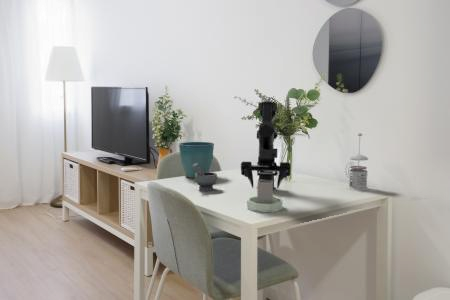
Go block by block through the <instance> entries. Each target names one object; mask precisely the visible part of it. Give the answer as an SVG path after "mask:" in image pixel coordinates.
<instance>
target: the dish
mask: <svg viewBox="0 0 450 300" xmlns="http://www.w3.org/2000/svg"><path fill="white" fill-rule="evenodd" d="M283 203H284V199H283V198H280V197H276V196H274V195H273V203H272V204H261V203H257V195H256V196H251V197H250V196H249V197H248V199H247V200H246V208H247V209H248V210H249V211H251V212H252V211H253V212H257V213H275V212H280V211H281V210H283V205H284V204H283Z"/></svg>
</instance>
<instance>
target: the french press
mask: <svg viewBox="0 0 450 300" xmlns="http://www.w3.org/2000/svg"><path fill="white" fill-rule="evenodd" d="M357 136H358V137H362V136H363V134H362V133H360V132H359V133H358V134H357ZM358 141H359V144H358V151H361V149H360V147H361V146H360V145H361V138H359V139H358ZM349 159H350V160H352V161H349V162H348V163H347V164H346V167H345V169H347V172H345V175H346V177H347V178H348V186H347V187H345V188H346V190H347V189H348V190H352V191H357V192H359V191H360V192H361V191H363V192H364V191H369V188H368V183H367V182H368V180H367V179H368V170H367V168H368V167H366V166H362V165H360V161H368V160H369V158H368V157H367V156H365V155H363V154H360V153H358V154H354V155H352V156H349ZM353 161H358V164H357V165H354V162H353ZM348 165H349V166H348ZM347 167H348V168H347Z"/></svg>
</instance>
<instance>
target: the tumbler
mask: <svg viewBox="0 0 450 300" xmlns="http://www.w3.org/2000/svg"><path fill="white" fill-rule="evenodd" d="M257 187H258V188H257V194H256V196H257V203H261V204H272V203H273V196H274V191H273V190H274V189H273V180H257Z"/></svg>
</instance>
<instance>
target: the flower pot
mask: <svg viewBox="0 0 450 300" xmlns="http://www.w3.org/2000/svg"><path fill="white" fill-rule="evenodd" d="M178 146H179V147H178V149H179V156H180V158H179V159H180V162H181V165H182V167H183V168H182V169H183V171H184V176H185V177H187V178H190V179H191V178H193V179H195V174H196V171H195V169H194V168H193V165H194V164H196V163H198V164H199V167H200V169H201V170H202V172H210V169H211V166H212V162H213V158H214V148H215V147H214V146H215V143H214V142H209V141H185V142H179V143H178Z"/></svg>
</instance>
